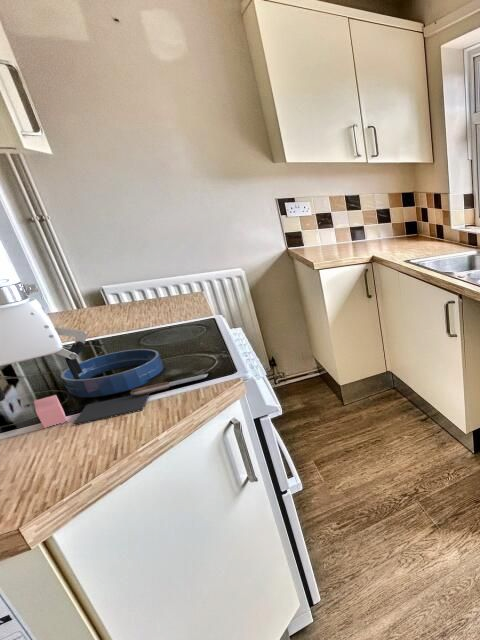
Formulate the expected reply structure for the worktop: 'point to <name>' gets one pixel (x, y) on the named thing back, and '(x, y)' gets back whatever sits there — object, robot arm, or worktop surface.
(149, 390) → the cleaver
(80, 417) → the mat
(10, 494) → the worktop surface
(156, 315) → the worktop surface
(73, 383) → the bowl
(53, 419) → the eraser
